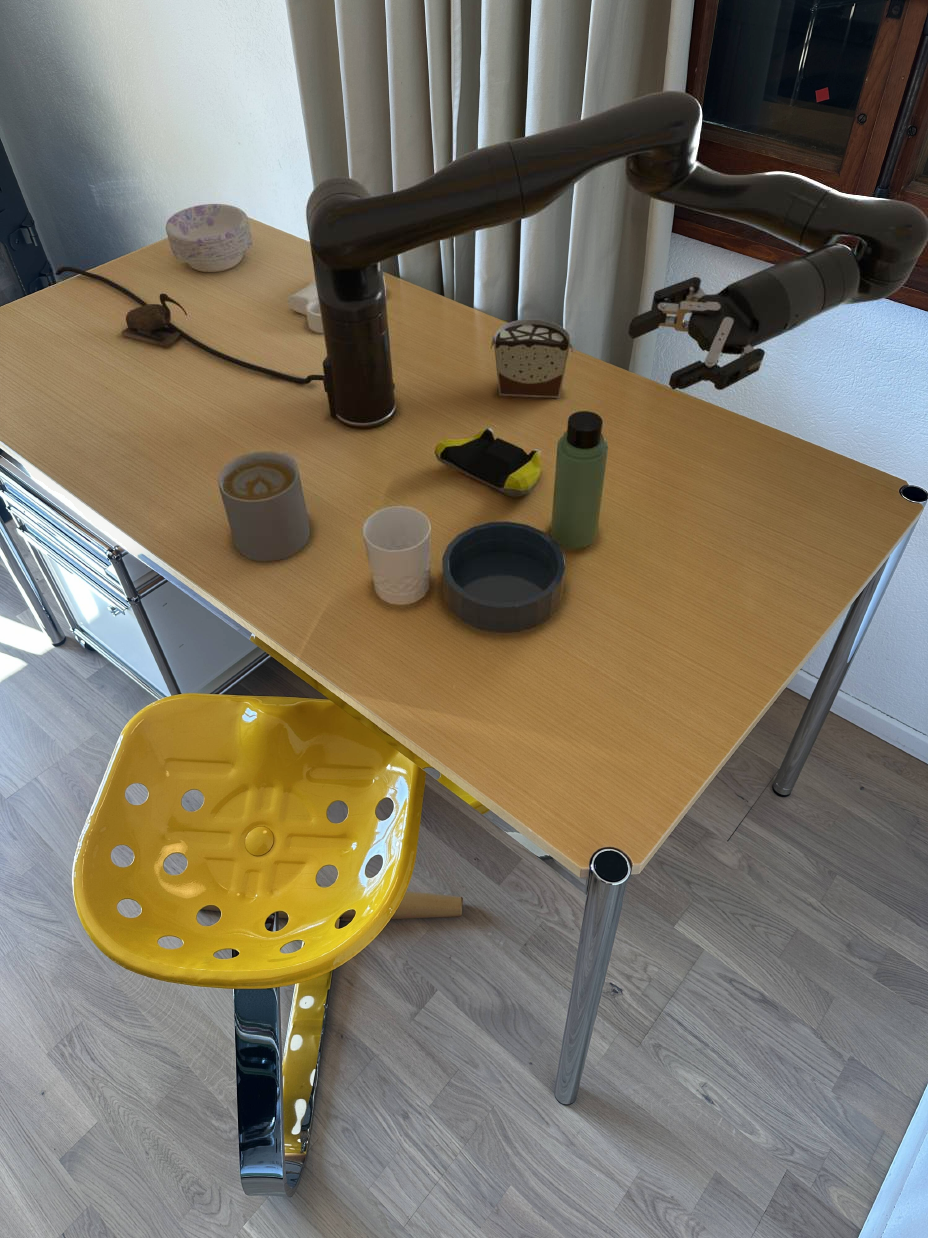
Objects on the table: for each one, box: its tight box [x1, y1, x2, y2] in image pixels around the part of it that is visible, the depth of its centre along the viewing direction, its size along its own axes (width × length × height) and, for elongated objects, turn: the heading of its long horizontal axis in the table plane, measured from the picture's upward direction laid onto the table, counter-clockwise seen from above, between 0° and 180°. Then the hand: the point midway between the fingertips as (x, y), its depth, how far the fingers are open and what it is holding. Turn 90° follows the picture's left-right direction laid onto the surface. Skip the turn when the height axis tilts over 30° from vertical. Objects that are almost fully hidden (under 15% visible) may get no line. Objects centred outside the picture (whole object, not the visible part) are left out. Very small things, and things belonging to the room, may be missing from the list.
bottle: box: [550, 410, 609, 550], centre depth 107 cm, size 6×6×18 cm
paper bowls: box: [165, 203, 253, 273], centre depth 165 cm, size 15×15×8 cm
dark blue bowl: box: [441, 520, 566, 634], centre depth 106 cm, size 15×15×5 cm
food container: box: [489, 318, 574, 399], centre depth 134 cm, size 12×6×10 cm, turn 84°
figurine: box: [121, 293, 188, 349], centre depth 146 cm, size 14×4×9 cm, turn 65°
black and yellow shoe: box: [434, 427, 542, 498], centre depth 120 cm, size 15×6×10 cm
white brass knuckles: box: [287, 275, 387, 334], centre depth 154 cm, size 3×18×15 cm
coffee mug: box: [217, 450, 311, 562], centre depth 112 cm, size 13×10×10 cm
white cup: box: [362, 505, 432, 606], centre depth 105 cm, size 8×8×10 cm
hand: (650, 356), depth 98 cm, fingers open, 8 cm apart
